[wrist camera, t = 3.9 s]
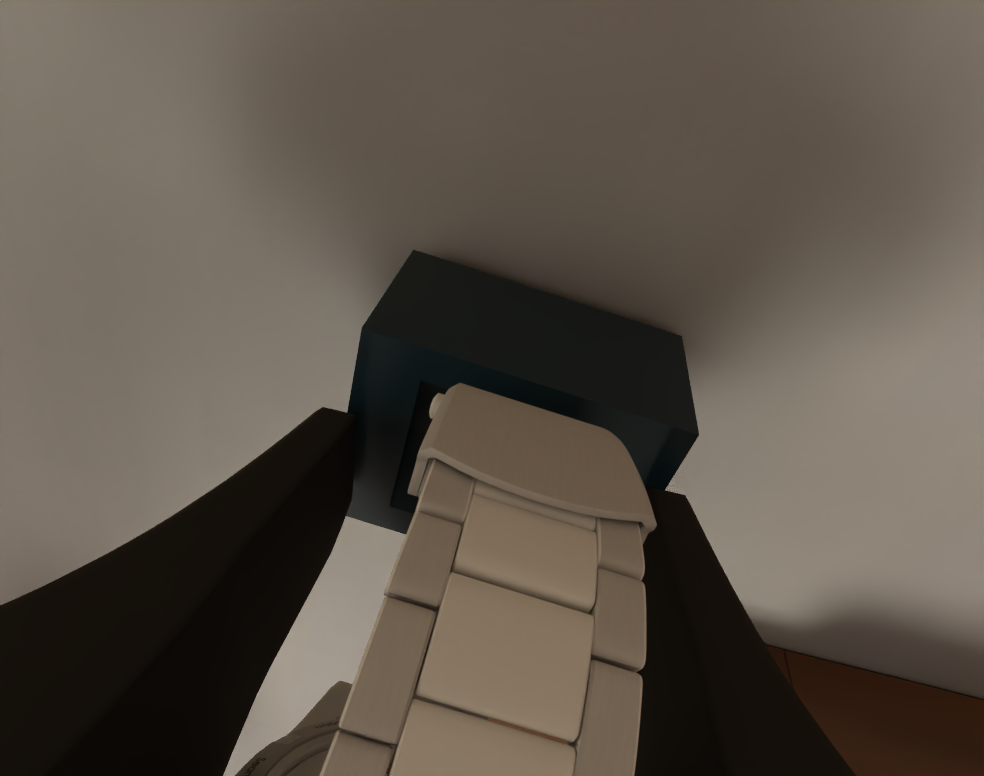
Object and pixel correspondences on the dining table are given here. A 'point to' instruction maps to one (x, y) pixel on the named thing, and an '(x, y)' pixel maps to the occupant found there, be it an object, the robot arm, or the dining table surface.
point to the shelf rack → (883, 719)
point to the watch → (500, 532)
